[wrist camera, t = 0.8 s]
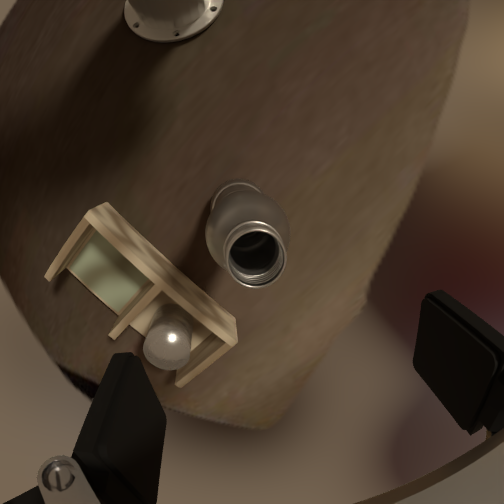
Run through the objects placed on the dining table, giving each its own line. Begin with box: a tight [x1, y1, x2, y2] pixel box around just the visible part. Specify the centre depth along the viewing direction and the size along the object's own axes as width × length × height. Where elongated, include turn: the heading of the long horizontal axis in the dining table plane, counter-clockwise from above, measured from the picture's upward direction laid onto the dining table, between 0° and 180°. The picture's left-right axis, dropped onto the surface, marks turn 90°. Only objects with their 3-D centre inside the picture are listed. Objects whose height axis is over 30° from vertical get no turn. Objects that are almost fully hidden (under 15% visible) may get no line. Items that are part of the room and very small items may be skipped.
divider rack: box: [44, 202, 238, 388], centre depth 36 cm, size 23×11×6 cm, turn 44°
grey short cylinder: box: [143, 304, 194, 370], centre depth 36 cm, size 6×6×7 cm
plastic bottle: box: [205, 179, 290, 289], centre depth 27 cm, size 6×7×20 cm
